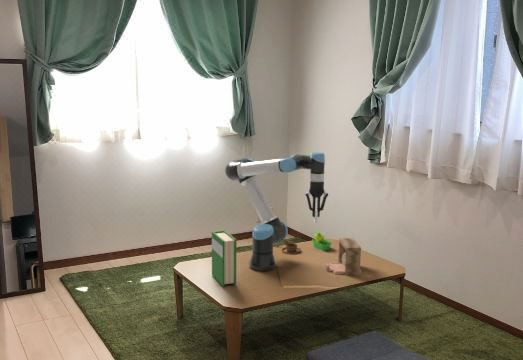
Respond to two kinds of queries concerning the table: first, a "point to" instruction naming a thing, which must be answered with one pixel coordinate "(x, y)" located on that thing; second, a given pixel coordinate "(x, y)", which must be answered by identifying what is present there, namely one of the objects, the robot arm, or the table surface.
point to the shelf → (350, 255)
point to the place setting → (291, 248)
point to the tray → (336, 268)
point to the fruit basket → (321, 242)
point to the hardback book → (223, 257)
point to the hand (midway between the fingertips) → (315, 222)
